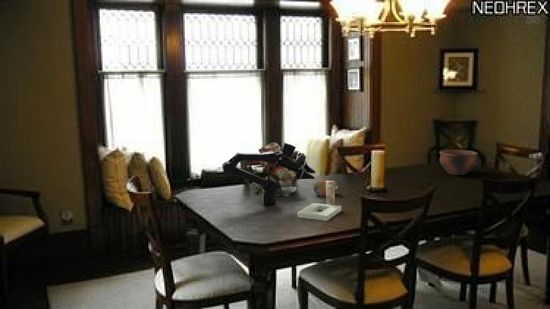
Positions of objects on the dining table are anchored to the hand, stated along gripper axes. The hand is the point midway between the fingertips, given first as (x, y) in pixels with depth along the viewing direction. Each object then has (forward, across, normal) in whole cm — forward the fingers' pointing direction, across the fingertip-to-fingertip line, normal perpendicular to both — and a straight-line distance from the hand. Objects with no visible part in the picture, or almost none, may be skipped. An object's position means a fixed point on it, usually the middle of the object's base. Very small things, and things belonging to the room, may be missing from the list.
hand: (314, 175), depth 291 cm
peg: (+14, -10, +10) cm, 20 cm away
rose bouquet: (-14, +26, +28) cm, 41 cm away
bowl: (+96, +80, -15) cm, 125 cm away
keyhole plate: (+9, -23, +10) cm, 27 cm away
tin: (+13, +18, +15) cm, 26 cm away
